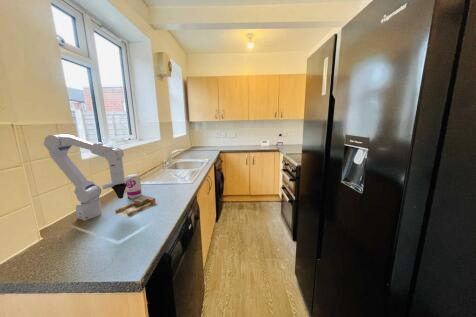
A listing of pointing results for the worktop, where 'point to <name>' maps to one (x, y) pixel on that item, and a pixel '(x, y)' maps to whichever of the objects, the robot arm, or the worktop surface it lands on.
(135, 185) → the supplement can
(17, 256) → the worktop surface
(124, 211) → the guide channel
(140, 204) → the block
